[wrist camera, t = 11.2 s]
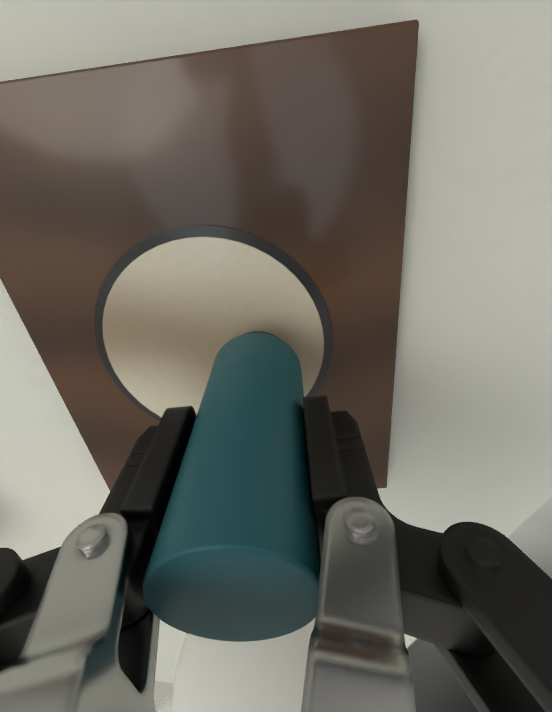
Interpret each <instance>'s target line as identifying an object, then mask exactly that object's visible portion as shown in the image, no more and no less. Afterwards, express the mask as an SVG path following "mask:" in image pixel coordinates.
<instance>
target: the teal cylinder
mask: <svg viewBox="0 0 552 712" xmlns="http://www.w3.org/2000/svg"><path fill="white" fill-rule="evenodd" d="M303 397H304V390H303V380H302V371H301V364H300V361H299V358H298V356H297V354H296V353H295V351H294V350H293V349H292V348H291V347H290V346H289V345H288V344H287V343H286V342H284V341H283V340H281V339H280V338H278V337H277V336H275V335H273V334H271V333H268V332H264V331H252V332H248V333H245V334H242V335H240V336H238V337H235V338H233V339H231V340H230V341H228V342H227V343H226V344H224V346H223V347H222V348H221V349H220V350H219V352H218V353H217V355H216V357H215V360H214V363H213V367H212V370H211V373H210V376H209V379H208V382H207V385H206V388H205V391H204V394H203V397H202V401H201V404H200V407H199V410H198V413H197V416H196V419H195V422H194V425H193V428H192V431H191V435H190V438H189V441H188V444H187V447H186V450H185V453H184V456H183V459H182V462H181V465H180V469H179V472H178V475H177V478H176V481H175V484H174V487H173V490H172V493H171V496H170V499H169V503H168V506H167V509H166V512H165V515H164V518H163V521H162V524H161V527H160V530H159V533H158V536H157V540H156V543H155V546H154V549H153V552H152V555H151V558H150V561H149V564H148V567H147V570H146V574H145V577H144V580H143V583H142V593H143V598H144V601H145V603H146V605H147V606H148V608H149V609H150V610H151V611H152V612H153V613H154V615H155V616H157V617H158V618H159V619H161V620H162V621H163V622H165V623H167V624H168V625H170V626H172V627H174V628H176V629H178V630H181V631H183V632H186V633H189V634H192V635H195V636H199V637H203V638H207V639H213V640H220V641H233V642H248V641H259V640H267V639H272V638H277V637H280V636H284V635H287V634H289V633H292V632H295V631H297V630H299V629H301V628H303V627H304V626H306V625H307V624H309V623H310V622H311V621H312V620H314V619H315V617H316V607H317V598H318V588H319V578H320V568H321V553H320V544H319V534H318V529H317V526H316V524H315V521H314V511H313V501H312V491H311V480H310V470H309V459H308V449H307V439H306V428H305V418H304V407H303Z"/></svg>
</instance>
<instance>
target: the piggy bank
mask: <svg viewBox="0 0 552 712" xmlns="http://www.w3.org/2000/svg"><path fill="white" fill-rule="evenodd" d="M314 624H315V619H314V620H312V621H311V622H310V623H309V624H307V625H306V626H304V627H303V628H301V629H299V630H297V631H295V632H292V633H289V634H287V635H284V636H280V637H277V638H272V639H267V640H259V641H248V642H233V641H220V640H213V639H207V638H203V637H199V636H195V635H192V634H189V633H187V635H186V638H185V640H184V643H183V645H182V649H181V652H180V656H179V659H178V664H177V668H176V674H175V680H174V688H173V690H172V691H171V692H169V693H168V694H167V695H166V696H165V697H164V698H163V700H162V702H161V704H160V706H159V709H158V712H301V707H302V698H303V689H304V680H305V671H306V662H307V654H308V647H309V641H310V636H311V633H312V631H313V629H314Z"/></svg>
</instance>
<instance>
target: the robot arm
mask: <svg viewBox="0 0 552 712" xmlns="http://www.w3.org/2000/svg"><path fill="white" fill-rule="evenodd" d="M303 407H304V418H305V428H306V439H307V449H308V459H309V470H310V480H311V491H312V501H313V511H314V521H315V524H316V526H317V529H318V534H319V544H320V553H321V568H320V578H319V588H318V598H317V607H316V617H315V624H314V629H313V631H312V633H311V636H310V641H309V647H308V654H307V662H306V671H305V680H304V689H303V698H302V707H301V712H416V711H415V700H414V689H413V679H412V672H411V664H410V658H409V654H408V651H407V649H406V646H405V639H404V634H407V635H410V636H413V637H416V638H419V639H421V640H424V641H428V642H430V643H433V644H434V645H435V647H436V648H437V650H438V651H439V652H440V654H441V656H442V657H443V659H444V660H445V662H446V663H447V665H448V666H449V667H450V669H451V671H452V672H453V674H454V675H455V676H456V678H457V680H458V681H459V683H460V684H461V686H462V687H463V689H464V690H465V692H466V693H467V695H468V696H469V698H470V699H471V701H472V702H473V704H474V705H475V707H476V708H477V710H478V711H479V712H552V579H551V578H550V577H549V576H548V575H547V574H546V573H545V572H544V571H543V570H541V569H540V568H539V567H538V566H537V565H536V564H535V563H534V562H533V561H532V560H531V559H530V558H529V557H528V556H526V555H525V554H524V553H523V552H522V551H521V550H520V549H519V548H518V547H517V546H516V545H515V544H514V543H512V541H510V540H509V539H508V538H507V537H506V536H504V535H503V534H501V533H500V532H498V531H497V530H495V529H493V528H491V527H488V526H486V525H483V524H479V523H475V522H460V523H456V524H454V525H452V526H450V527H449V528H447V530H446V531H445V532H444V534H443V533H439V532H435V531H431V530H427V529H423V528H418V527H415V526H412V525H409V524H407V523H404V522H403V521H401V520H399V519H397V518H396V517H395V516H394V515H392V514H391V513H390V512H389V511H388V510H387V509H386V507H385V506H384V505H383V503H382V501H381V499H380V497H379V494H378V490H377V487H376V484H375V480H374V477H373V474H372V470H371V467H370V463H369V460H368V457H367V453H366V450H365V447H364V443H363V440H362V438H361V433H360V430H359V426H358V423H357V421H356V420H355V419H354V418H353V417H352V416H351V415H350V414H349V413H348V412H347V411H333V412H330V408H329V403H328V398H327V395H318V396H306V397H303ZM195 419H196V412H195V410H194V408H193V407H192V406H184V407H172V408H167V409H166V410H165V412H164V414H163V416H162V418H161V420H160V423H159V425H157V426H150V427H149V428H148V429H147V430H146V431H145V432H144V433H143V434H142V435H141V436H140V437H139V438H138V439H137V441H136V443H135V445H134V447H133V449H132V451H131V455H130V456H128V458H127V460H126V462H125V464H124V465H125V467H124V468H122V470H121V472H120V474H119V476H118V478H117V480H116V482H115V484H114V486H113V488H112V490H111V492H110V494H109V496H108V498H107V499H106V501H105V503H104V505H103V507H102V509H101V511H100V513H99V515H96V516H93V517H91V518H89V519H87V520H85V521H84V522H82V523H81V524H80V525H78V526H77V527H76V528H75V529H74V530H73V531H72V532H71V533H70V534H69V535H68V536H67V538H66V539H65V541H64V542H63V544H62V546H61V547H59V548H56V549H53V550H50V551H47V552H45V553H42V554H39V555H36V556H33V557H31V558H28V559H25V560H22V559H21V558H20V557H19V556H18V554H17V553H16V552H15V551H14V550H12V549H9V548H0V712H156V711H155V706H154V683H155V671H156V659H157V648H158V636H159V624H160V619H159V618H158V617H157V616H155V615H154V613H153V612H152V611H151V610H150V609H149V608H148V606H147V605H146V603H145V601H144V598H143V593H142V583H143V580H144V577H145V574H146V570H147V567H148V564H149V561H150V558H151V555H152V552H153V549H154V546H155V543H156V540H157V536H158V533H159V530H160V527H161V524H162V521H163V518H164V515H165V512H166V509H167V506H168V503H169V499H170V496H171V493H172V490H173V487H174V484H175V481H176V478H177V475H178V472H179V469H180V465H181V462H182V459H183V456H184V453H185V450H186V447H187V444H188V441H189V438H190V435H191V431H192V428H193V425H194V422H195Z"/></svg>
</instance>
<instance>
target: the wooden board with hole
mask: <svg viewBox="0 0 552 712" xmlns="http://www.w3.org/2000/svg"><path fill="white" fill-rule="evenodd" d="M418 29H419V21H418V20H410V21H403V22H397V23H390V24H383V25H376V26H370V27H363V28H356V29H350V30H343V31H336V32H330V33H323V34H316V35H310V36H303V37H296V38H290V39H283V40H276V41H270V42H263V43H256V44H250V45H243V46H236V47H229V48H223V49H216V50H209V51H203V52H196V53H189V54H183V55H176V56H169V57H163V58H156V59H149V60H143V61H136V62H129V63H123V64H116V65H109V66H103V67H96V68H89V69H82V70H76V71H69V72H62V73H56V74H49V75H42V76H36V77H29V78H22V79H16V80H9V81H2V82H0V279H1V280H2V282H3V284H4V286H5V288H6V290H7V292H8V294H9V296H10V298H11V300H12V302H13V304H14V306H15V308H16V310H17V311H18V313H19V315H20V317H21V319H22V321H23V323H24V325H25V327H26V329H27V331H28V333H29V335H30V337H31V339H32V341H33V342H34V344H35V346H36V348H37V350H38V352H39V354H40V356H41V358H42V360H43V362H44V364H45V366H46V368H47V370H48V372H49V374H50V375H51V377H52V379H53V381H54V383H55V385H56V387H57V389H58V391H59V393H60V395H61V397H62V399H63V401H64V403H65V405H66V406H67V408H68V410H69V412H70V414H71V416H72V418H73V420H74V422H75V424H76V426H77V428H78V430H79V432H80V434H81V436H82V437H83V439H84V441H85V443H86V445H87V447H88V449H89V451H90V453H91V455H92V457H93V459H94V461H95V463H96V465H97V467H98V468H99V470H100V472H101V474H102V476H103V478H104V480H105V482H106V484H107V486H108V488H109V490H110V492H111V490H112V488H113V486H114V484H115V482H116V480H117V478H118V476H119V474H120V472H121V470H122V468H124V467H125V465H124V464H125V462H126V460H127V458H128V456H130V455H131V451H132V449H133V447H134V445H135V443H136V441H137V439H138V438H139V437H140V436H141V435H142V434H143V433H144V432H145V431H146V430H147V429H148V428H149V427H150V426H157V425H159V423H160V420H161V418H162V416H163V414H164V412H165V410H166V409H167V408H172V407H184V406H192V407H193V408H194V410H195V412H196V416H197V413H198V410H199V407H200V404H201V401H202V397H203V394H204V391H205V388H206V385H207V382H208V379H209V376H210V373H211V370H212V367H213V363H214V360H215V357H216V355H217V353H218V352H219V350H220V349H221V348H222V347H223V346H224V344H226V343H227V342H228V341H230V340H231V339H233V338H235V337H238V336H240V335H242V334H245V333H248V332H252V331H264V332H268V333H271V334H273V335H275V336H277V337H278V338H280V339H281V340H283V341H284V342H286V343H287V344H288V345H289V346H290V347H291V348H292V349H293V350H294V351H295V353H296V354H297V356H298V358H299V361H300V364H301V371H302V380H303V390H304V397H306V396H318V395H327V398H328V403H329V408H330V412H333V411H347V412H348V413H349V414H350V415H351V416H352V417H353V418H354V419H355V420H356V421H357V423H358V426H359V430H360V433H361V438H362V440H363V443H364V447H365V450H366V453H367V457H368V460H369V463H370V467H371V470H372V474H373V477H374V480H375V484H376V487H377V488H386V487H387V474H388V459H389V445H390V431H391V416H392V402H393V388H394V373H395V359H396V345H397V330H398V316H399V302H400V287H401V273H402V258H403V244H404V230H405V215H406V201H407V187H408V172H409V158H410V144H411V129H412V115H413V101H414V86H415V72H416V57H417V43H418Z"/></svg>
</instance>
